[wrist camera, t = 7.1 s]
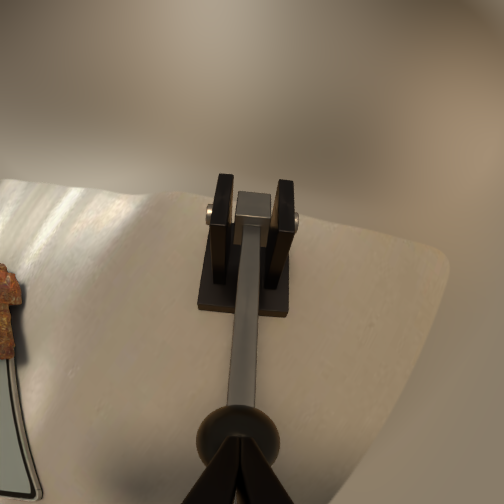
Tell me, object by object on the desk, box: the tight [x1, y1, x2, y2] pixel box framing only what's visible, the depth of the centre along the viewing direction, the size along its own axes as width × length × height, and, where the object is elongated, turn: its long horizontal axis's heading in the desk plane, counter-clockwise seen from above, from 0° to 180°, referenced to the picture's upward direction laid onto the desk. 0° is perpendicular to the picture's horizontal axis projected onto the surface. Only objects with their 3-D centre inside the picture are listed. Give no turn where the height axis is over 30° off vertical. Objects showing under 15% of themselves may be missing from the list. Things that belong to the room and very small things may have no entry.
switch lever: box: [196, 191, 280, 467], centre depth 15 cm, size 17×3×3 cm, turn 176°
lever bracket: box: [197, 174, 299, 317], centre depth 22 cm, size 8×7×9 cm
